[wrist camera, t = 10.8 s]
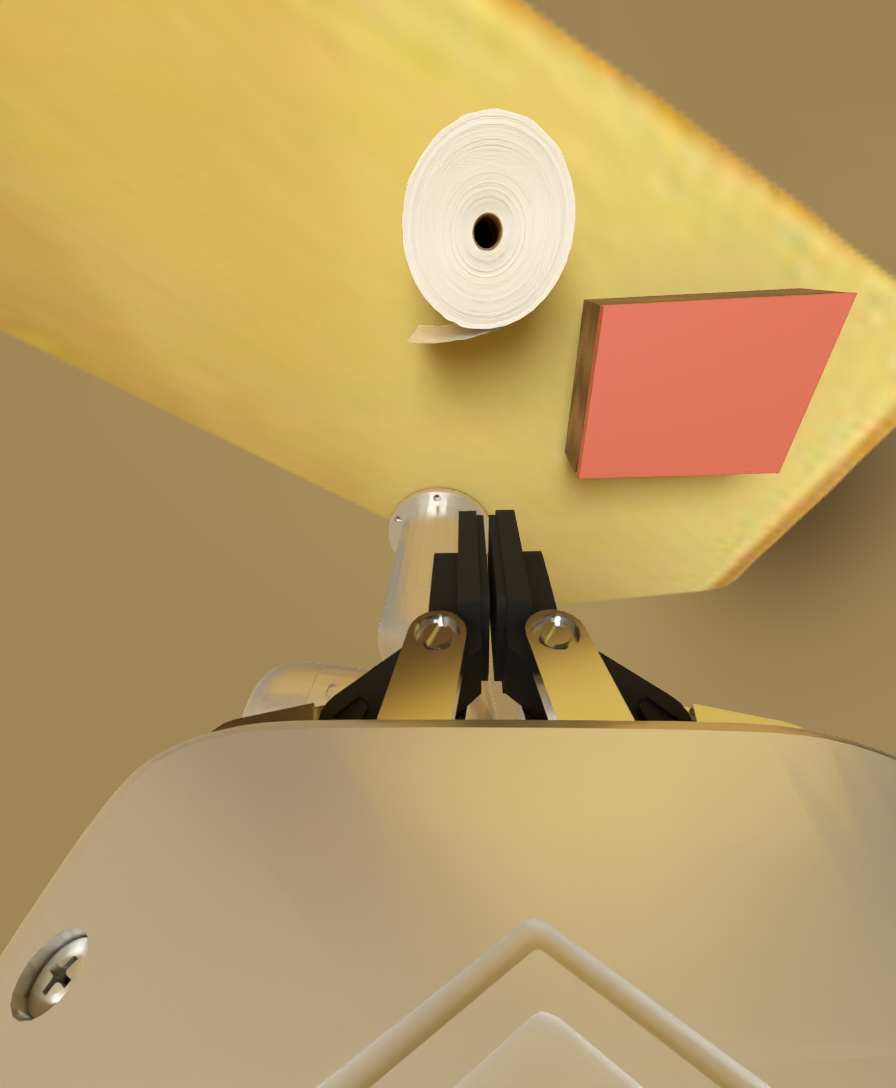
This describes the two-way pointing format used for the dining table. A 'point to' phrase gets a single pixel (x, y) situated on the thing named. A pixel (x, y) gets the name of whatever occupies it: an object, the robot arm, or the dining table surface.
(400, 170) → the dining table surface
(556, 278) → the toilet tissue
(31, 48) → the dining table surface
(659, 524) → the dining table surface
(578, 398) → the walnut box
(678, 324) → the lid
